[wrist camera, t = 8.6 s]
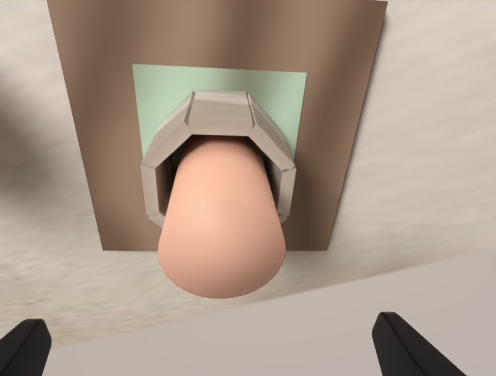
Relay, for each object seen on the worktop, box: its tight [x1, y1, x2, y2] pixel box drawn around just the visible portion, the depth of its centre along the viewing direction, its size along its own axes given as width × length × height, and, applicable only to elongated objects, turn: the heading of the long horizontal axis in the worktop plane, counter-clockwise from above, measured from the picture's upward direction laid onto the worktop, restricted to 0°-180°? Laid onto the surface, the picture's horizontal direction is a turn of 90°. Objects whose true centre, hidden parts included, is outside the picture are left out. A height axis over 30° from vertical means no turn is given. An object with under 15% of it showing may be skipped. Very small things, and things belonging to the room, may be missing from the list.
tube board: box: [47, 0, 388, 251], centre depth 17 cm, size 16×16×6 cm
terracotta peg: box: [158, 134, 286, 299], centre depth 15 cm, size 4×4×9 cm
